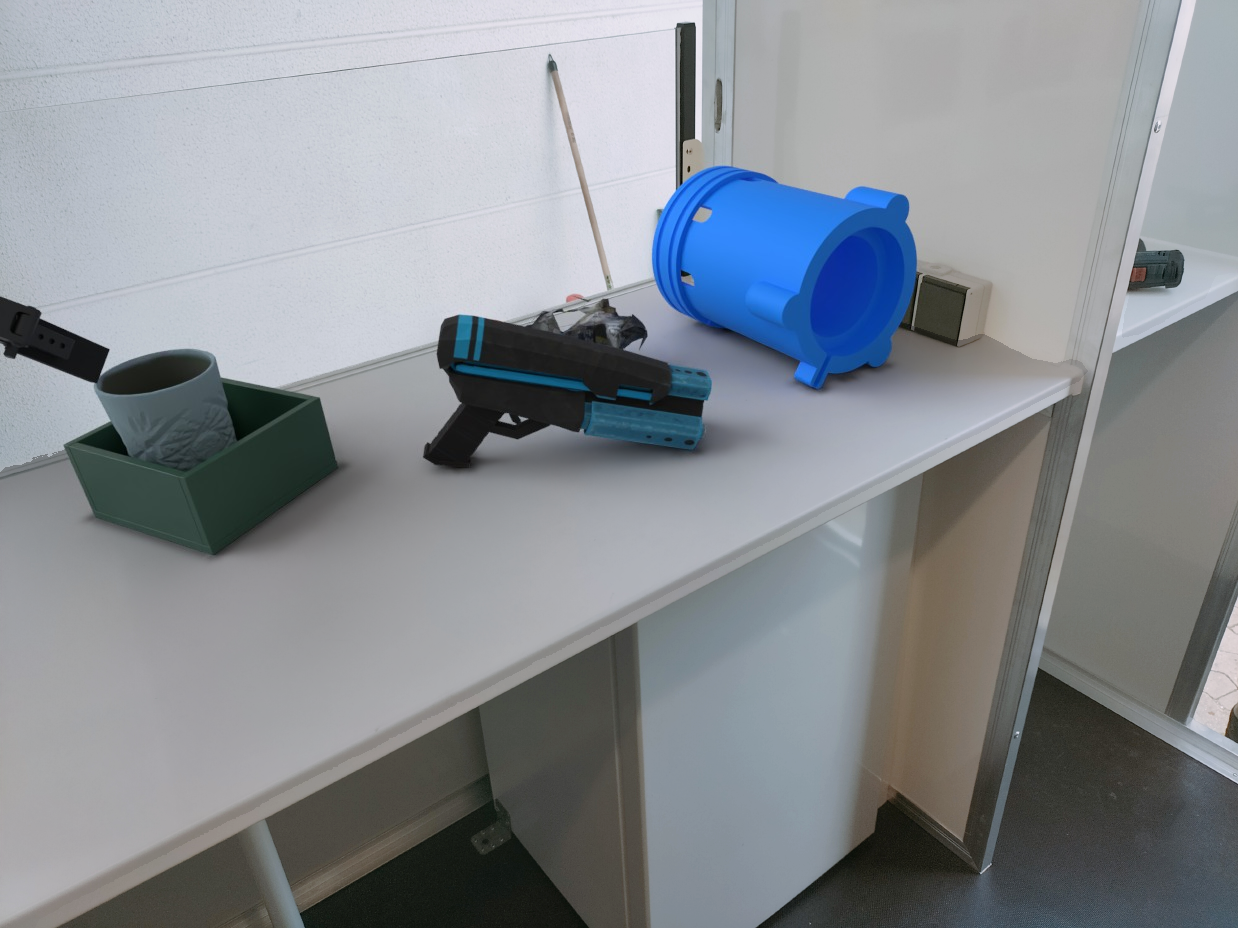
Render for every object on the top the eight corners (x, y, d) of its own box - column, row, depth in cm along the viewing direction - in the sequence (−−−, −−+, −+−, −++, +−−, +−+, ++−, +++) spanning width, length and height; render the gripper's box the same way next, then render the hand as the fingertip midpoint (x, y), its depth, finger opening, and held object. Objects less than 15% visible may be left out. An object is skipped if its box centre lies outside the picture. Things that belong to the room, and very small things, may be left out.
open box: (95, 517, 79) (62, 444, 75) (226, 440, 91) (204, 373, 87) (213, 555, 73) (184, 478, 69) (338, 467, 85) (320, 397, 81)
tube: (728, 343, 118) (624, 302, 106) (795, 190, 114) (695, 129, 101) (864, 406, 100) (757, 366, 87) (951, 228, 95) (851, 158, 83)
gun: (685, 510, 86) (727, 377, 79) (419, 478, 80) (438, 330, 73) (672, 470, 93) (709, 343, 85) (425, 437, 87) (443, 299, 80)
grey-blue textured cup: (243, 503, 78) (204, 385, 72) (126, 521, 77) (76, 402, 71) (258, 450, 87) (224, 341, 81) (153, 466, 85) (110, 356, 79)
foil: (532, 319, 108) (615, 267, 98) (575, 394, 109) (660, 350, 99) (473, 349, 99) (557, 295, 89) (520, 429, 101) (607, 385, 91)
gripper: (-474, 254, 49) (-85, 380, 69) (-229, 292, 41) (138, 424, 60) (-415, 140, 51) (-50, 295, 70) (-165, 153, 42) (173, 326, 61)
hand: (37, 355), depth 65 cm, fingers open, 13 cm apart
